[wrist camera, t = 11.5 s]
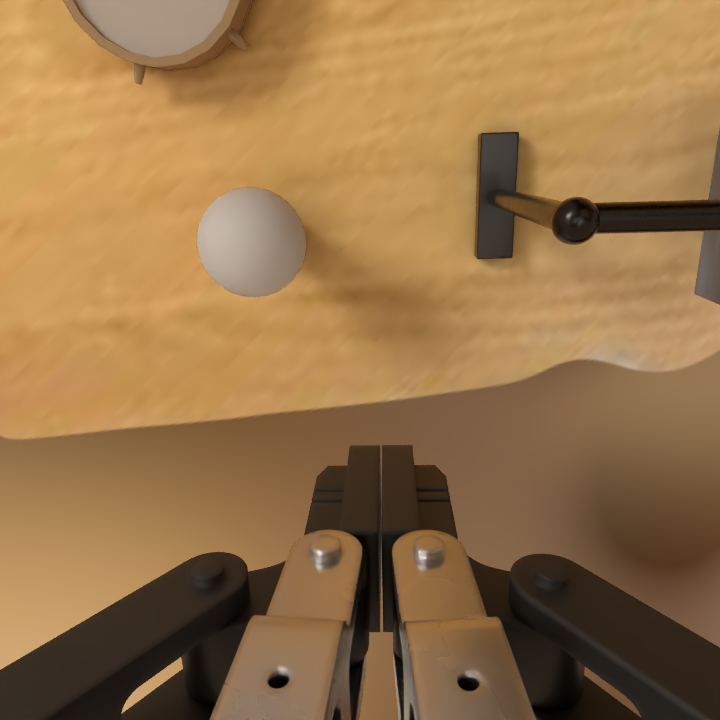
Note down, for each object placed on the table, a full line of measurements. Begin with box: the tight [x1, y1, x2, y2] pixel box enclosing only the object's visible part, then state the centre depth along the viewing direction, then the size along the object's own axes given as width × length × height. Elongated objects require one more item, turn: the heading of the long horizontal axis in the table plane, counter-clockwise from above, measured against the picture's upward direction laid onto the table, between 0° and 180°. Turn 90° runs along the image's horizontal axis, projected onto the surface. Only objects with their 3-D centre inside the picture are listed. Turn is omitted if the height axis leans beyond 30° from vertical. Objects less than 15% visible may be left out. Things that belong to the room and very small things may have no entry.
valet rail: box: [475, 132, 720, 259], centre depth 30 cm, size 18×8×19 cm, turn 92°
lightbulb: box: [197, 187, 306, 297], centre depth 36 cm, size 6×6×11 cm
